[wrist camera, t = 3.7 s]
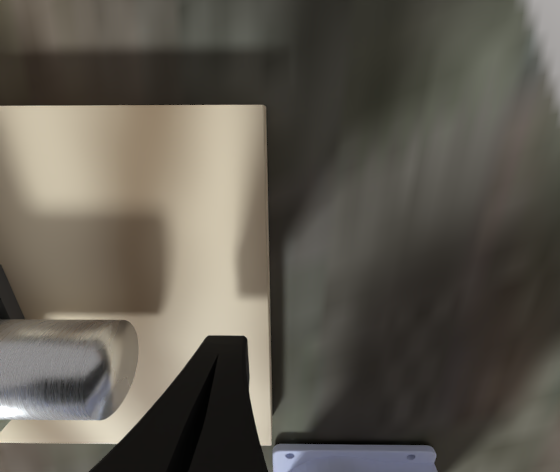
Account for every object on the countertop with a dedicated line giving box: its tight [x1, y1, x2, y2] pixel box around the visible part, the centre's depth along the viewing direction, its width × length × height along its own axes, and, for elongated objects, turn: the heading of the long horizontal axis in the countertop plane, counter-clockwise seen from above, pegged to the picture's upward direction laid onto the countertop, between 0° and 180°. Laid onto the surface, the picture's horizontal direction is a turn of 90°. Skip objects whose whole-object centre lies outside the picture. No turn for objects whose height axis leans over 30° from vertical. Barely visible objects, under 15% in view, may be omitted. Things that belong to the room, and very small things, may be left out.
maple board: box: [0, 105, 272, 445], centre depth 12 cm, size 22×16×2 cm
